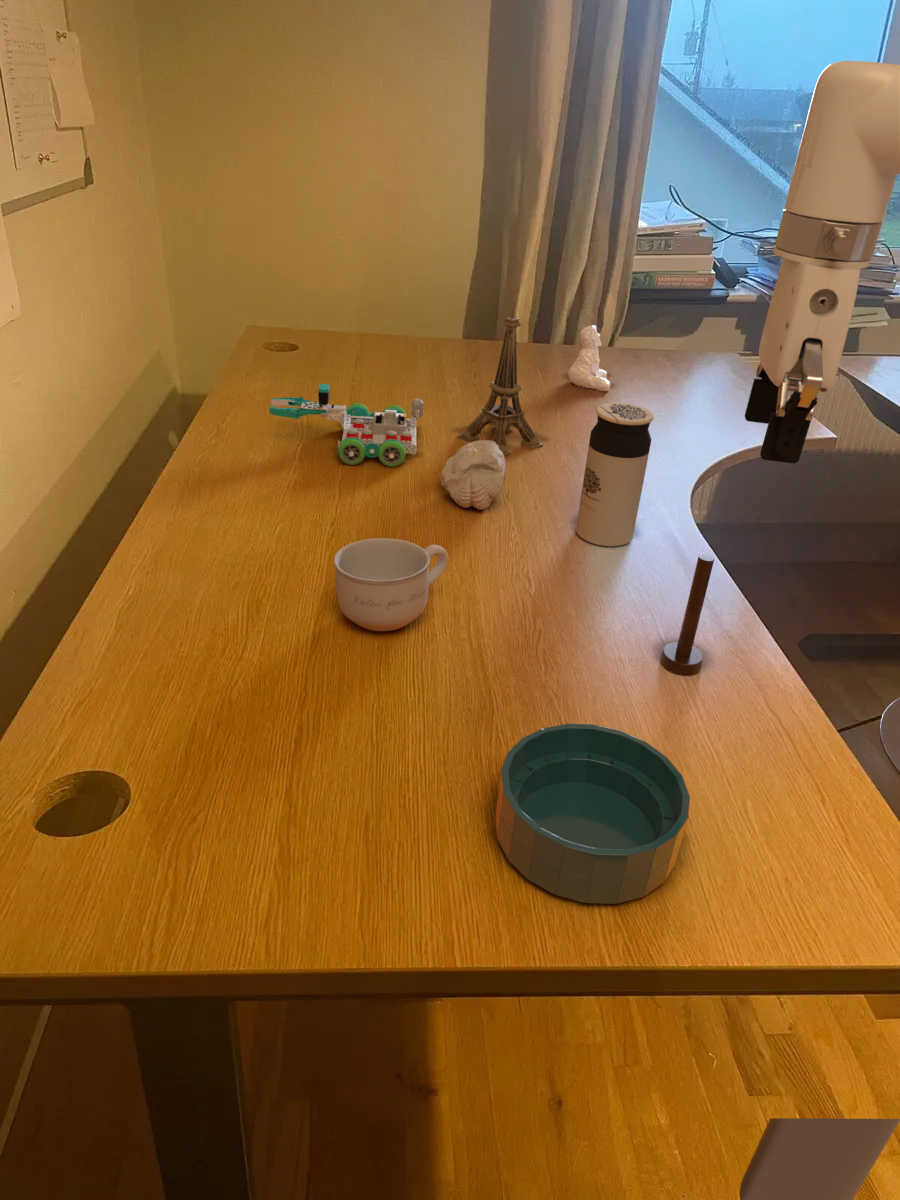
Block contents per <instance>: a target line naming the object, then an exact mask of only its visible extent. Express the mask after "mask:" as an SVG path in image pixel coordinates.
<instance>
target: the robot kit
mask: <svg viewBox="0 0 900 1200" xmlns="http://www.w3.org/2000/svg"><path fill="white" fill-rule="evenodd" d="M318 386H319V387H318V391H317V392H318V394H317V395H318V401H311V400H309V399H308V400H307V399H304V397H302V396H294V397H293V396H292V397H276V398H271V400H270V401H271V402H270V404H271V405H270V406H269V407H268V408H269V409H268V410H269V411H268V412H269V415H272V416H277V417H283V418H290V419H297V420H299V419H301V417H304V416H309V415H313V416H314V415H315V416H316V415H319V416H321V417H322V420H325V418H326V419H327V420H328V421H338V422H339V423H340V425H341V428H342V429H343V430H342V431H343V433H342V438H341V441H340V440H339V439H337V455H338V458H339V459H340V461H341V462H343V463H344V464H346V465H347V466H357V465H360V463H362V462H363V461H364V459H365V457H368V458H370V459H371V458H372V459H373V458H374V459H375V458H377V457H378V459H379V462H380V463H381V464H382V465H384V466H385V467H389V468H396V467H398V466H400V465H402V464H403V462H404V461H405V459H406V454H410V455H411V456H415V455H416V454H417V449H418V448H417V446H418V443H417V424H418V422H417V421H418V419H420V418H422V417H423V416H424V401H423V400H422V399H421V398H414V399H413V400H411V408H410V409H411V410H410V411H411V412H410V415H411V416H412V418H407V413H406V410H404V409H403V408H402V407H401V406H400V405H395V404H391V405H388V406H386V407H385V408H384V409H383V410H382V412H380V411H379V412H378V411H372V412H370V409H369V408H368V407H367V406H366V405H364V404H362V403H360V402H359V403H358V402H356V403H352V404H350V405H349V406H348V407H347V406H346V404H345V405H339V404H337V405H335V404H329V402H330V388H331V387H330V384H328V383H320V384H319V385H318ZM279 406H283V407H279ZM284 406H285V407H284ZM296 407H298V408H296Z"/></svg>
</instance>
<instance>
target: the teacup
mask: <svg viewBox="0 0 900 1200" xmlns="http://www.w3.org/2000/svg"><path fill="white" fill-rule="evenodd" d="M435 555H437V557H438V558H437V562H436V564H435V566H433V568H432V569H431V570H430V565H431V559H432V557H433V556H435ZM448 565H449V554H448V552H447V551H446V549H445V548H444V547H443V546H441V545H439V544H430V545H428V546H426V547H425V548H423V547H421V546H420V545H418V544H416V543H414V542H411V541H408V540H405V539H400V538H391V537H390V538H389V537H375V538H366V539H361V540H357V541H353V542H351V543H349V544H346V545H344V546H343V547H341V548H339V550H337V552H336V553H335V554H334V556H333V566H334V572H335V575H334V576H335V577H334V578H335V591H336V599H337V604H338V607H339V609H340V611H341V612H342V614H343V615H344V616H345V617H346V618H347V619H349V620H350V621H351V622H353V623H355V624H356V625H358V626H359V627H361V628H363V629H366V630H369V631H372V632H373V631H374V632H390V631H396V630H399V629H402V628H404V627H405V626H407V625H409V624H410V623H411V622H413V621H415V620H416V619H417V618H418V617H419V616H420V615H421V614H422V613H423V612H424V610H425V608H426V607H427V602H428V597H429V588H430V586H431V585H433V584H434V583H435V582H436V581H437V580H438V579H439V578H440V577H442V575H443V574H444V573H445V572H446V570H447V568H448Z"/></svg>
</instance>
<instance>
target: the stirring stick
mask: <svg viewBox="0 0 900 1200" xmlns="http://www.w3.org/2000/svg"><path fill="white" fill-rule="evenodd" d="M714 563H715V557H714V556H712V555H711V554H707V553H701V554H699V555H698V557H697V561H696V566H695V569H694V572H693V578H692V582H691V587H690V591H689V594H688V598H687V603H686V606H685V612H684V615H683V620H682V625H681V628H680V632H679V636H678V641H673V642H669V643H667V644H665V645H664V646H663V648H662V650H661V651H662V652H661V656H660V664H661V666H662V667H663V668H664V669H665V670H666V671H668V672H670V673H672V674H675V675H677V676H683V677H685V676H686V677H690V676H694V675H697V674H698V673H699V672H700V671H701V669H702V665H703V661H704V654H703V652H702V651H701V650H700V649H699V648H697V647H696V646H694V642H695V639H696V634H697V630H698V627H699V622H700V618H701V614H702V610H703V607H704V603H705V598H706V594H707V591H708V587H709V583H710V578H711V575H712V570H713V567H714Z"/></svg>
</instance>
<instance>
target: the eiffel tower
mask: <svg viewBox="0 0 900 1200" xmlns="http://www.w3.org/2000/svg"><path fill="white" fill-rule="evenodd" d="M515 301H516V293H514V296H513V302H512V309H511V316H509V317H504V321H503V322H502V324H503V326H505V333H504V336H503V337H504V338H503V342H502V347H501V352H500V357H499V361H498V365H497V370H496V374H495V379H494V381H490V384H489V388H491V391H490V394H489V397H488V400H487V402H486V403H485V405H484V406H483V407H481V411H482V412H480V414H479V415H478V416H477V417H475V419H473V421H472V422H471V423H469V425H467V427H466V428H465V429H464V431H463V432H462V433H460V434H458V435H457V436H456V438H457V439H459V440H462V441H463V442H465V443H472V442H473V441H479V440H480V437H481V436H480V435H479V434H480V433H481V432H482V430H483V429H484V428H485V427H486V426H487V425H489V424H493V425H494V426H492V427H490V429H491V431H494V432H495V433H494V436H493V439H492V441H494V442H495V443H496V444H497V445H498V446H499V450H500V451H501V452H502V453H503V455H504V457H506V456H509V455H510V452H509V450H508V449H507V439H506V434H509V433H513V432H514V429H512V428H511V426H514V427H515V428H516V429H517V431H518V433H519V435H520V437H521V438H522V439H521V440H520V445H522V446H524V447H526V448H528V449H531V450H533V449H537V448H542V447H544V443H542V442H540V441H539V439H538V436H537V435H536V433H535V432H534V431H533V428H532V427H531V425H530V424H529V422H528V421H527V420H526V418H525V416H524V415H525V414H526V412H525V411H523V409H522V406H521V402H520V397H519V393H520V392H521V391H522V386H521V385H519V384H518V362H517V361H518V359H517V354H518V352H517V328H518V327H521V326H522V324H521V323H520V321H521V318H517V317H515V304H516V303H515ZM498 397H500V404H497V405H496V402H497V399H498ZM509 399H511V404H512V406H510V405H509V401H510V400H509ZM541 446H542V447H541Z"/></svg>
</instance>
